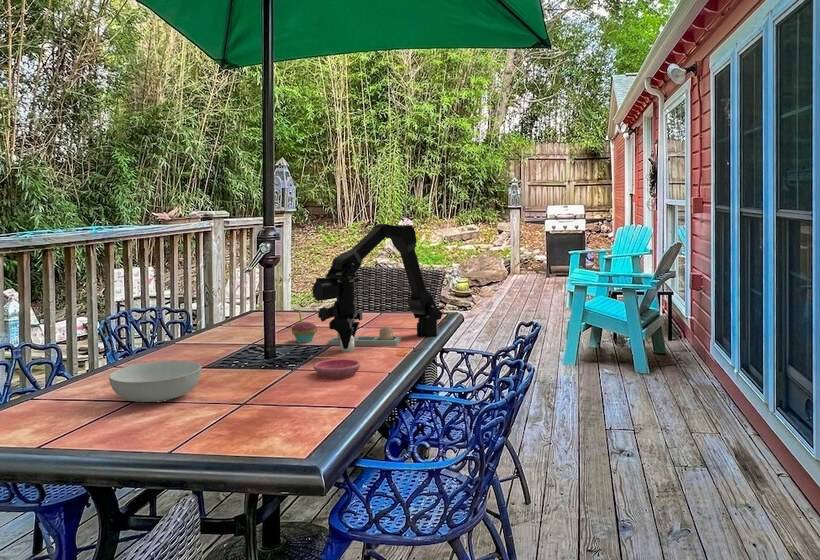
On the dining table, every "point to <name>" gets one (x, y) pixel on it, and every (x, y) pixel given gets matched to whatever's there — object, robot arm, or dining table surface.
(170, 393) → the serving bowl
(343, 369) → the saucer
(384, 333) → the brown egg
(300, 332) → the cupcake
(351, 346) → the white egg
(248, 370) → the dining table surface
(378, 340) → the egg carton
